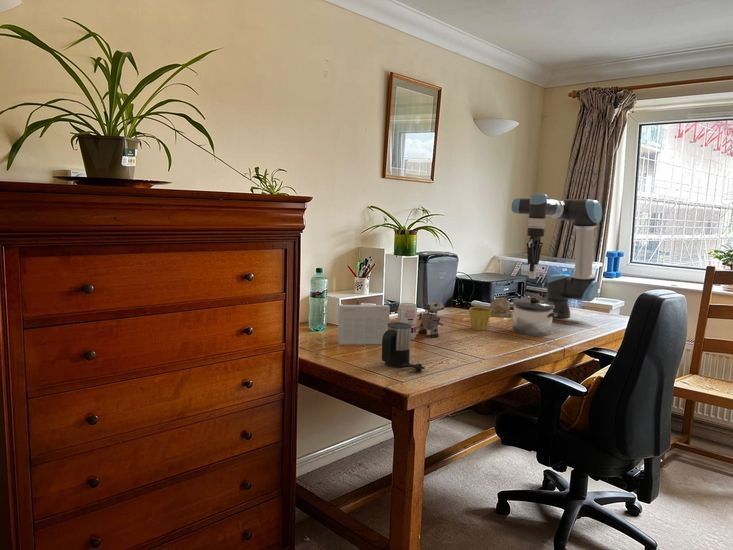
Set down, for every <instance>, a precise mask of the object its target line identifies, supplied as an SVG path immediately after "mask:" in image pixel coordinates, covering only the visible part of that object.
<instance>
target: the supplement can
mask: <svg viewBox="0 0 733 550" xmlns="http://www.w3.org/2000/svg"><path fill="white" fill-rule="evenodd" d="M397 311H398V312H397V322H401V323H407V324H411V325H412V327H411V337H410V341H412V340H414V339H416V336H417V321H418V307H417V304H416V303H412V302H411V303H410V302H401V303H399V305H398V307H397Z"/></svg>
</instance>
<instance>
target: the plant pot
mask: <svg viewBox="0 0 733 550" xmlns="http://www.w3.org/2000/svg"><path fill="white" fill-rule="evenodd" d="M468 314H469V317H470V323H471V329H472V330H476V331H485V330H486V329H487V325H488V322H489V320H490V318H491V317H492V316H491V308H488V307H482V306H472V307H469V310H468Z"/></svg>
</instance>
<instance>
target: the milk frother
mask: <svg viewBox="0 0 733 550" xmlns="http://www.w3.org/2000/svg"><path fill="white" fill-rule="evenodd" d="M387 325H388V331H386V332H385V333H384V335H383V338H382V344H381V361H382V362H384V364H385V365H386V366H389V367H392V368H393V367H394V368H411V369H412V368H413V369H414V370H416V371H417V372H421V371H422V370H425V369H426V367H425V366H423V365H422V363H415V364H413V363H410V350H411V348H410V347H411V340H410V337H411V327H412V325H411V324H407V323H401V322H398V321H396V322H393V321H392V322H389V323H388V324H387Z"/></svg>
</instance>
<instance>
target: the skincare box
mask: <svg viewBox="0 0 733 550" xmlns="http://www.w3.org/2000/svg"><path fill="white" fill-rule="evenodd" d="M390 312H391V306H390V305H388V304H338V315H337V316H338V317H337V319H338V320H337V322H338V323H337V343H338V345H382V338H383V335H384V333H385V332H386V331H388V325H387V324H388V323H390Z"/></svg>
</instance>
